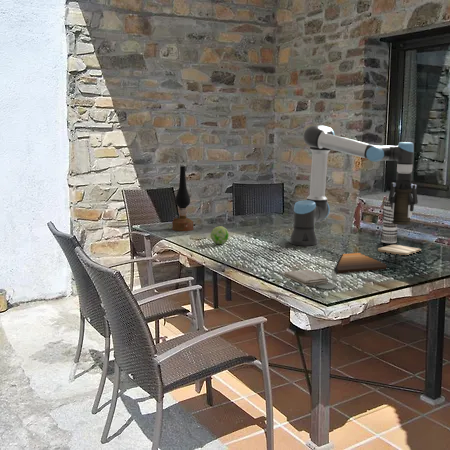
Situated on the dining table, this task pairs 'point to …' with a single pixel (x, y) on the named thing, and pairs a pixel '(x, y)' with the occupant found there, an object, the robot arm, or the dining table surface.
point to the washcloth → (306, 277)
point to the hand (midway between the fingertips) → (401, 216)
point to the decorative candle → (388, 224)
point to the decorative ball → (219, 235)
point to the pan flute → (357, 263)
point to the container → (401, 207)
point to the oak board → (398, 249)
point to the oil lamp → (182, 206)
